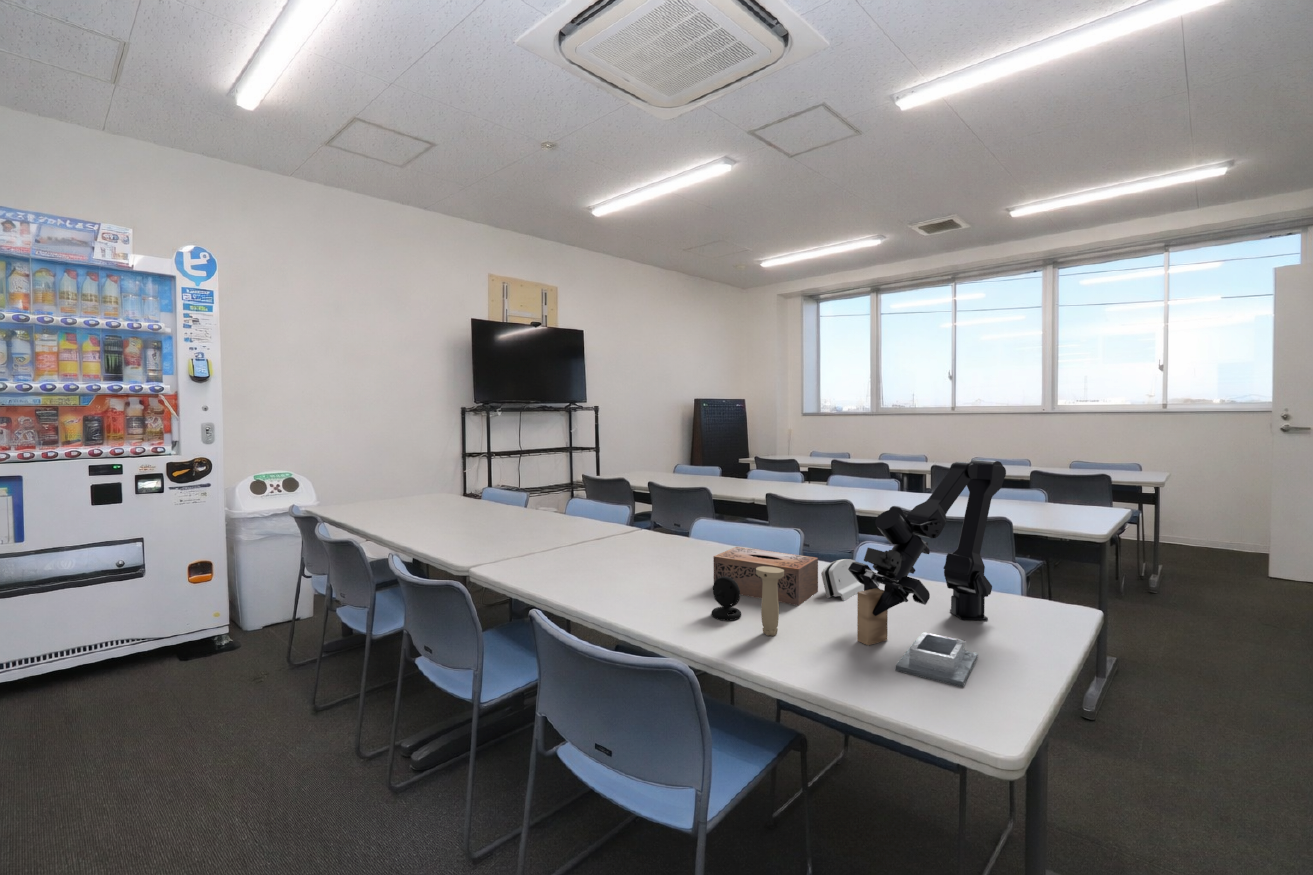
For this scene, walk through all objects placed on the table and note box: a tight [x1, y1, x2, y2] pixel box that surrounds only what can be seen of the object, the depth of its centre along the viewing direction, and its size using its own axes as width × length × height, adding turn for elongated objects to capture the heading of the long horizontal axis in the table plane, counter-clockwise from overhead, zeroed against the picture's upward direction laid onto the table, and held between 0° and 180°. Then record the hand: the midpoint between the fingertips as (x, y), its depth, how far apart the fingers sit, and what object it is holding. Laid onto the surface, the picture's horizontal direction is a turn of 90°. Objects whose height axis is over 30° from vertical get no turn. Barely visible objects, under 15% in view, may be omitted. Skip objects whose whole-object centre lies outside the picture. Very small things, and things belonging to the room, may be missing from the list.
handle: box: [756, 566, 784, 637], centre depth 134 cm, size 5×6×15 cm
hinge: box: [821, 558, 864, 602], centre depth 166 cm, size 17×5×10 cm, turn 137°
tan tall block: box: [856, 587, 889, 646], centre depth 130 cm, size 6×3×11 cm, turn 117°
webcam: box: [711, 576, 742, 622], centre depth 147 cm, size 8×8×10 cm
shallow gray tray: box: [894, 631, 979, 688], centre depth 118 cm, size 16×12×4 cm
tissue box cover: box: [712, 546, 819, 606], centre depth 167 cm, size 26×14×10 cm, turn 55°
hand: (867, 612), depth 129 cm, fingers closed on tan tall block, 3 cm apart
